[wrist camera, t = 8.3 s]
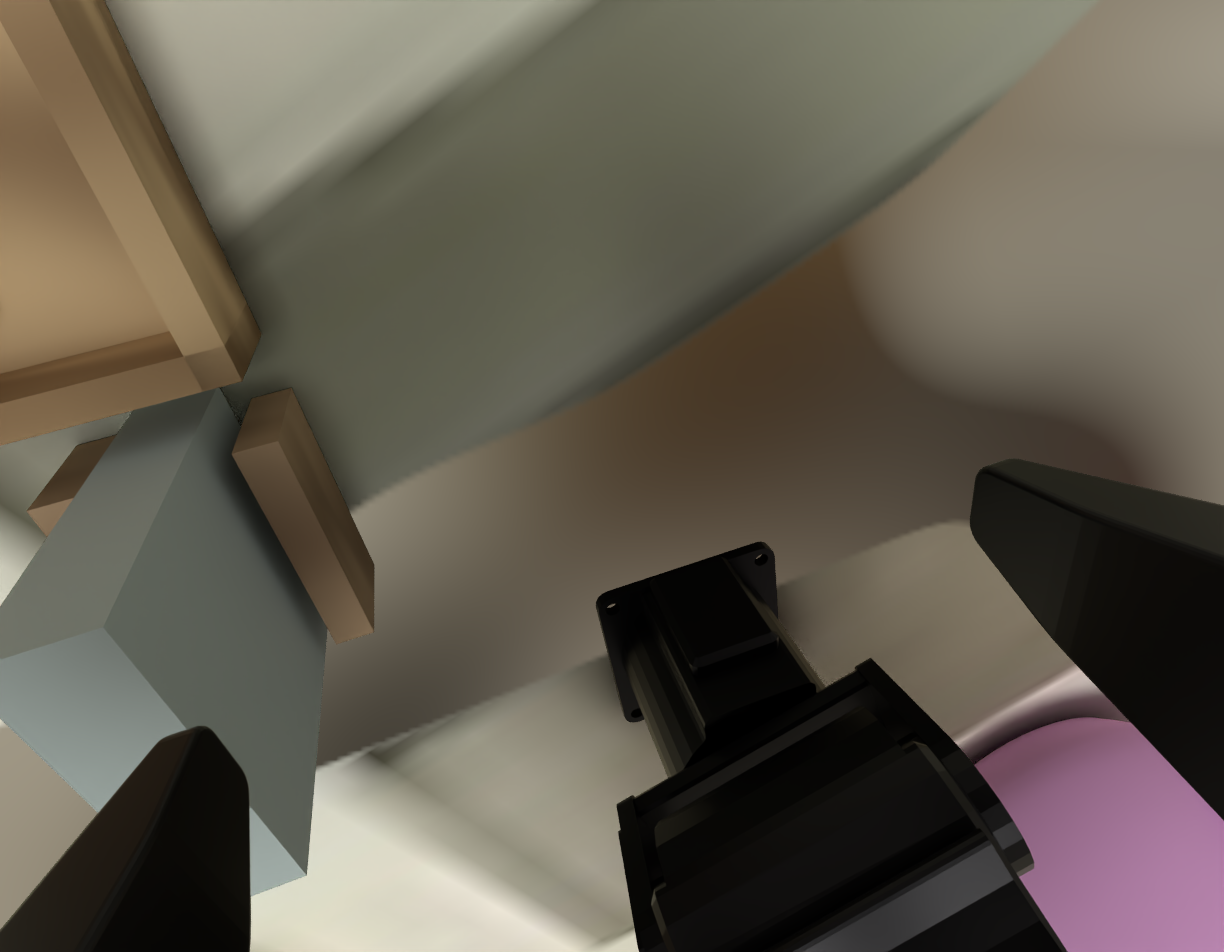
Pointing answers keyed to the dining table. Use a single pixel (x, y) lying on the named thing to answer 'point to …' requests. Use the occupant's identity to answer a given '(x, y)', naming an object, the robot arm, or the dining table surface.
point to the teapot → (1113, 839)
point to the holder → (273, 508)
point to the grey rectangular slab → (171, 628)
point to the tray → (99, 236)
